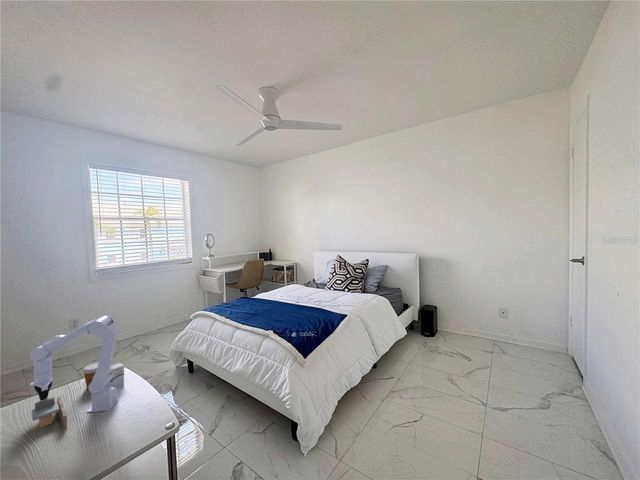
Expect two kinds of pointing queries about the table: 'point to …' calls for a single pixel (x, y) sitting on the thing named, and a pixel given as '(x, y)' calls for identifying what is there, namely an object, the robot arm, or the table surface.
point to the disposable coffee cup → (90, 372)
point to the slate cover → (44, 408)
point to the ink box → (117, 375)
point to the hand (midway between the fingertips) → (43, 399)
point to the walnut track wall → (62, 413)
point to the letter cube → (45, 420)
